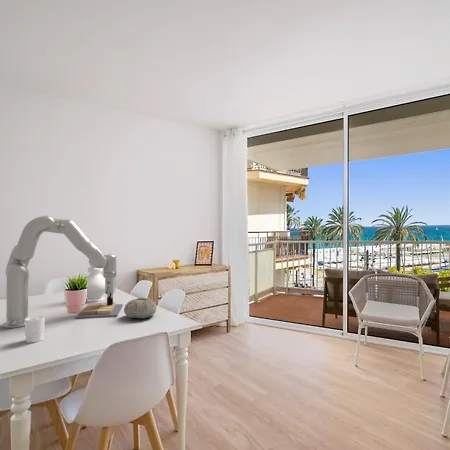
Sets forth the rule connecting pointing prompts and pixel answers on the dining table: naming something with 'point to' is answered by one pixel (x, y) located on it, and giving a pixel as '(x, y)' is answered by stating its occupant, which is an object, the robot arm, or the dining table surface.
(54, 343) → the dining table surface
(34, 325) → the white cup
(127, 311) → the decorative shell
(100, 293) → the decorative vase
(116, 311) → the floor board
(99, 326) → the dining table surface
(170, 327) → the dining table surface
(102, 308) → the board
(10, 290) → the robot arm
